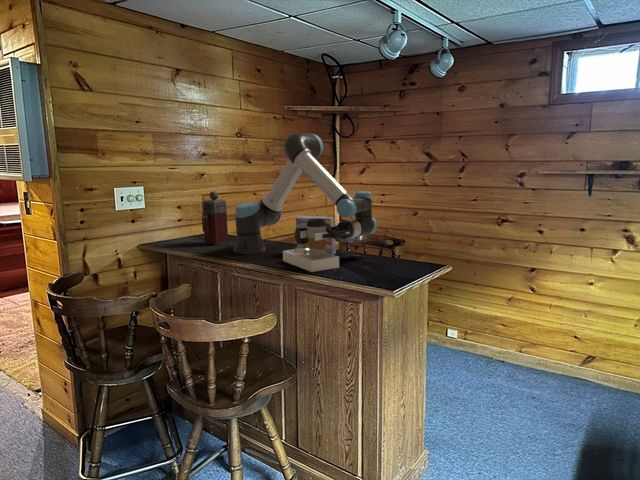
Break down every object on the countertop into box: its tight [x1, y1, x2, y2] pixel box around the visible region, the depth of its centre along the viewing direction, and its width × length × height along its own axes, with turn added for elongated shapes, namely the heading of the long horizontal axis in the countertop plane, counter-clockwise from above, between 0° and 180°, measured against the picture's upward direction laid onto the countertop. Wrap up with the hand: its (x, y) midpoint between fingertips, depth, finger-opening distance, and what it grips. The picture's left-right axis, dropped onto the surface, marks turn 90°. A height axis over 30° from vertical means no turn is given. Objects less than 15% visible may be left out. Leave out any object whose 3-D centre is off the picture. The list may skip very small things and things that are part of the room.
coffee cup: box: [307, 219, 327, 258], centre depth 196 cm, size 8×8×15 cm
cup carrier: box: [282, 248, 340, 273], centre depth 203 cm, size 25×13×4 cm, turn 31°
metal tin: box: [294, 247, 310, 255], centre depth 208 cm, size 7×7×5 cm
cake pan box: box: [294, 215, 337, 255], centre depth 223 cm, size 19×5×18 cm, turn 65°
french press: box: [201, 190, 229, 245], centre depth 253 cm, size 9×11×28 cm
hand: (308, 236), depth 193 cm, fingers closed on coffee cup, 8 cm apart
